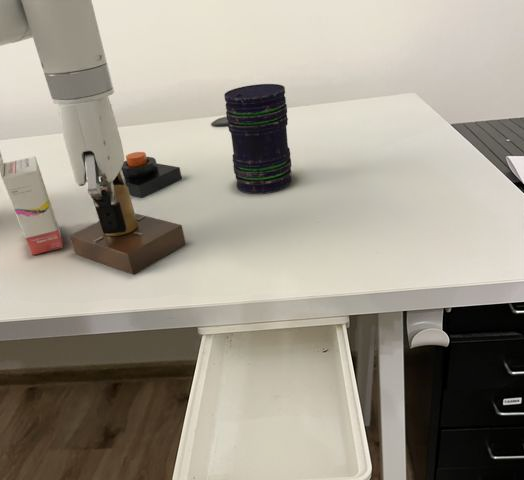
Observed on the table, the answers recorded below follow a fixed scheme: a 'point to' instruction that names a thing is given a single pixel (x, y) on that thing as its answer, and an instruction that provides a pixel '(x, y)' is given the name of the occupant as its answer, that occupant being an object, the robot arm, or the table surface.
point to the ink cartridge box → (31, 204)
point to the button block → (149, 177)
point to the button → (136, 159)
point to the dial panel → (129, 244)
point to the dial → (124, 208)
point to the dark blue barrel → (259, 137)
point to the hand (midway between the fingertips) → (118, 222)
